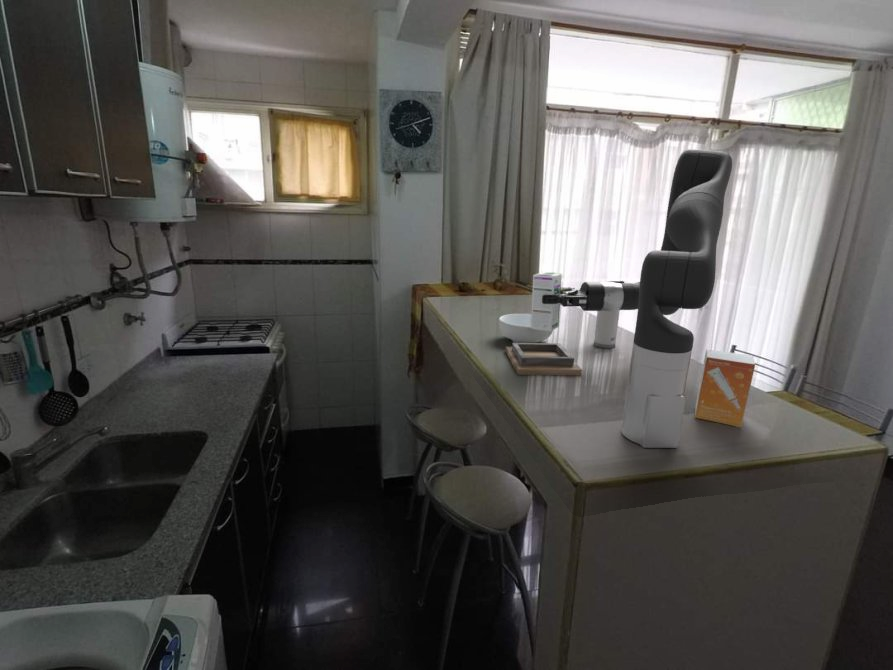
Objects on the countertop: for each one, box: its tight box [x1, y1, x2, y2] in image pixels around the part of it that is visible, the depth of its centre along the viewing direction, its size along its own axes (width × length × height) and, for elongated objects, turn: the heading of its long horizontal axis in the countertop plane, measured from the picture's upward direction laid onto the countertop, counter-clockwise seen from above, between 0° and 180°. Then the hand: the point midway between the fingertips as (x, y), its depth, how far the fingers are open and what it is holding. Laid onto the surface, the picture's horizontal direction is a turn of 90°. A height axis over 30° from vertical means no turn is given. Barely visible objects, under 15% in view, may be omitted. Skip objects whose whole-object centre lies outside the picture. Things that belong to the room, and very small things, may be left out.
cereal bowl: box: [498, 313, 554, 343], centre depth 141 cm, size 17×17×7 cm
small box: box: [694, 349, 756, 428], centre depth 89 cm, size 8×6×13 cm
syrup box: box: [530, 271, 563, 332], centre depth 117 cm, size 6×6×14 cm
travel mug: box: [593, 280, 625, 349], centre depth 136 cm, size 6×7×20 cm
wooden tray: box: [505, 342, 583, 376], centre depth 121 cm, size 19×16×4 cm
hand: (538, 296), depth 117 cm, fingers closed on syrup box, 7 cm apart
